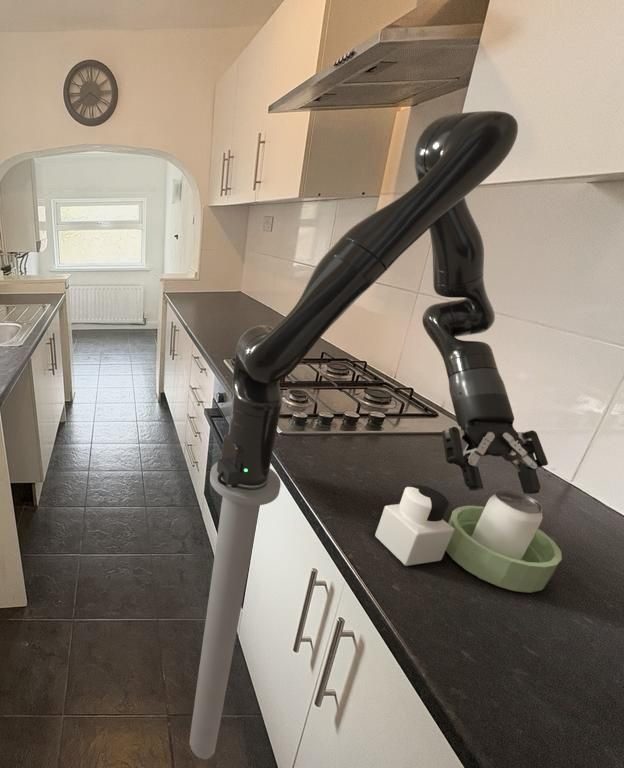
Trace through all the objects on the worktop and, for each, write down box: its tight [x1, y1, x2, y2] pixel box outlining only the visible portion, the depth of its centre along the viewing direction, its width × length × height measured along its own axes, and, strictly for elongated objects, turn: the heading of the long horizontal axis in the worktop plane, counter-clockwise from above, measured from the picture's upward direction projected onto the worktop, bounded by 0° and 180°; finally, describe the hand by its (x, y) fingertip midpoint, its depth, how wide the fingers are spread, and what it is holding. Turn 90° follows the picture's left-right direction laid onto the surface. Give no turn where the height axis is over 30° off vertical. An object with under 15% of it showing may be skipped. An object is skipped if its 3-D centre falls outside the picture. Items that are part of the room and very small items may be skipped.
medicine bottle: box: [374, 484, 454, 567], centre depth 70 cm, size 7×7×12 cm
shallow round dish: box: [445, 505, 563, 594], centre depth 69 cm, size 14×14×6 cm
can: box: [471, 489, 544, 560], centre depth 68 cm, size 6×6×12 cm
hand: (504, 491), depth 68 cm, fingers open, 8 cm apart
